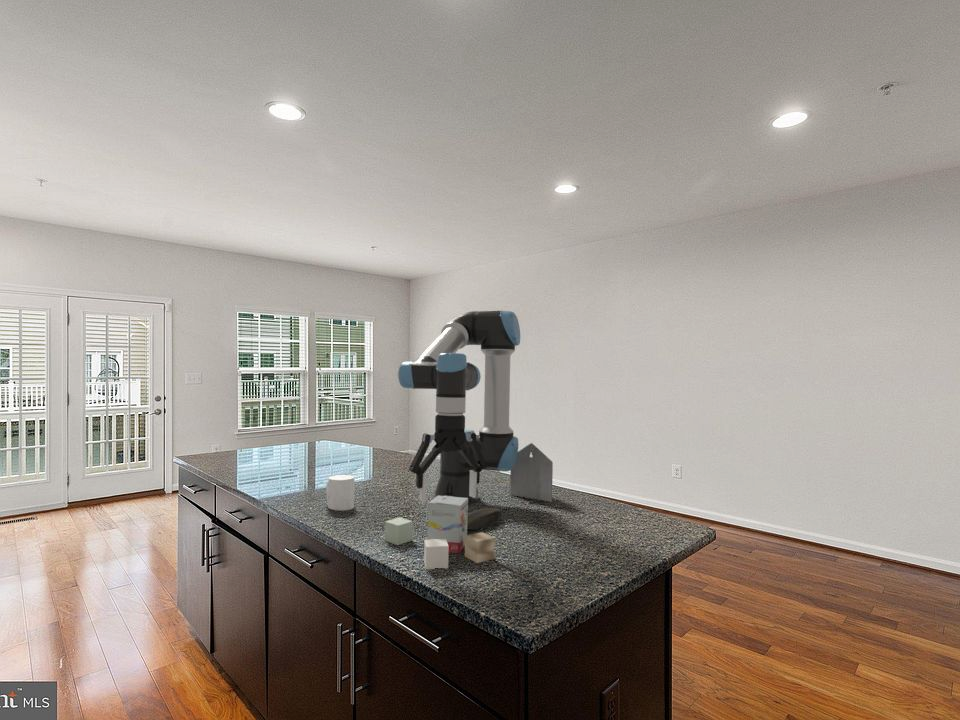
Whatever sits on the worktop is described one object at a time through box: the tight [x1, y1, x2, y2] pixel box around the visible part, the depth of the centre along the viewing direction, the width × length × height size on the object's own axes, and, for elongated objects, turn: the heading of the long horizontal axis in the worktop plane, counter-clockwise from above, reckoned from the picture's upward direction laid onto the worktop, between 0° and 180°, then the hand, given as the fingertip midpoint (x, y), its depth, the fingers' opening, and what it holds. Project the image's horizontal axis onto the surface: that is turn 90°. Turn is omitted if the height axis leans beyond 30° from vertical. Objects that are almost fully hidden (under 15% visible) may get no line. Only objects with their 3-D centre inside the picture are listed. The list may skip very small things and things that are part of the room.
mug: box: [325, 474, 356, 511], centre depth 163 cm, size 12×9×8 cm
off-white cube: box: [423, 539, 449, 570], centre depth 115 cm, size 5×5×5 cm
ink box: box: [426, 495, 469, 554], centre depth 127 cm, size 9×9×12 cm
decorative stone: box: [467, 507, 504, 531], centre depth 145 cm, size 17×6×4 cm, turn 137°
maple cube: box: [464, 532, 495, 564], centre depth 120 cm, size 5×5×5 cm
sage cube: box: [384, 516, 414, 546], centre depth 131 cm, size 5×5×5 cm
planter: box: [509, 442, 554, 503], centre depth 180 cm, size 16×8×19 cm, turn 58°
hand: (448, 499), depth 127 cm, fingers open, 13 cm apart
